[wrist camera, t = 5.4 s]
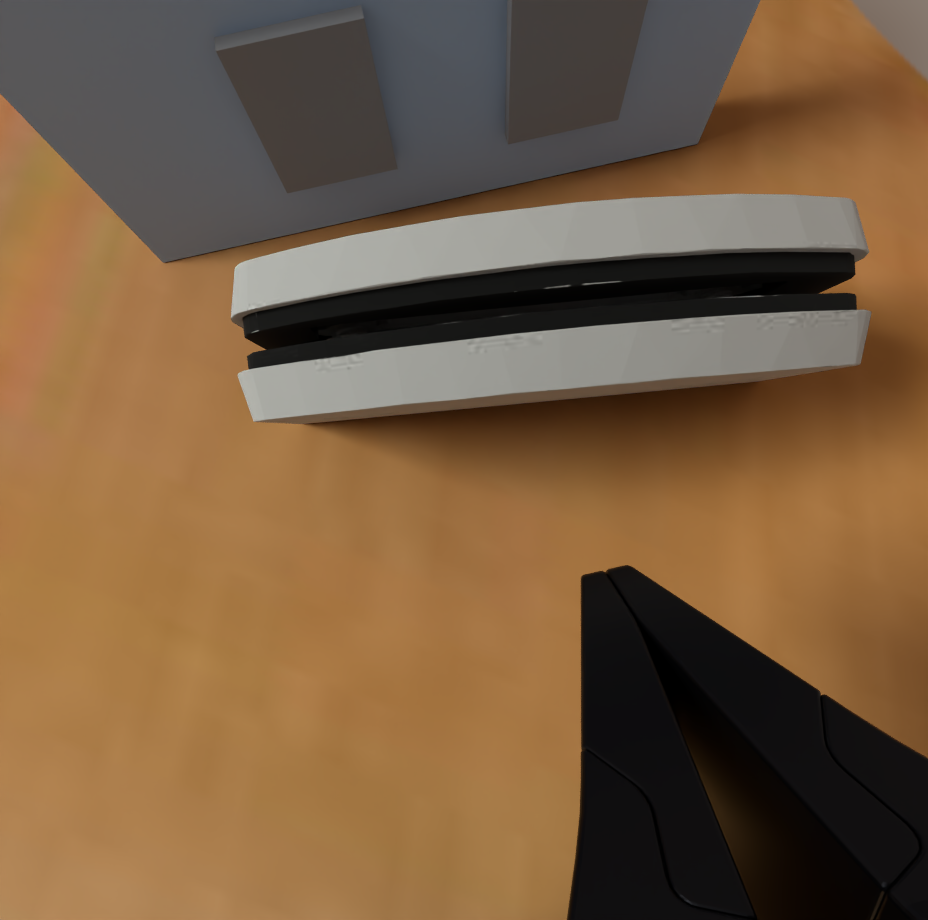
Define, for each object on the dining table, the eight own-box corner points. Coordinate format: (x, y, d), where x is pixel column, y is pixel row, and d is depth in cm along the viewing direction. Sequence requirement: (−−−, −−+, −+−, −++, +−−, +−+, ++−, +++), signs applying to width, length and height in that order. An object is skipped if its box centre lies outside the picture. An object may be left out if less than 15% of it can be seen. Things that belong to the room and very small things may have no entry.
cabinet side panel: (701, 153, 21) (872, -222, 12) (163, 273, 21) (-112, -6, 12) (681, 106, 22) (826, -286, 12) (160, 221, 22) (-103, -81, 12)
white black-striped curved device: (735, 257, 20) (992, 93, 10) (742, 384, 20) (997, 348, 10) (296, 301, 21) (123, 188, 11) (309, 424, 21) (155, 427, 11)
